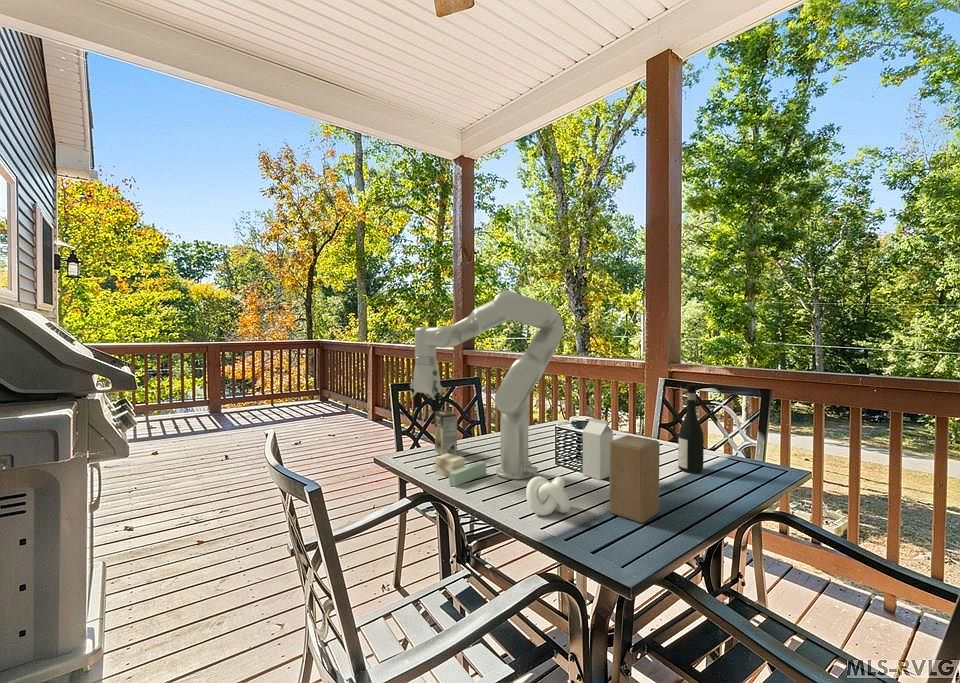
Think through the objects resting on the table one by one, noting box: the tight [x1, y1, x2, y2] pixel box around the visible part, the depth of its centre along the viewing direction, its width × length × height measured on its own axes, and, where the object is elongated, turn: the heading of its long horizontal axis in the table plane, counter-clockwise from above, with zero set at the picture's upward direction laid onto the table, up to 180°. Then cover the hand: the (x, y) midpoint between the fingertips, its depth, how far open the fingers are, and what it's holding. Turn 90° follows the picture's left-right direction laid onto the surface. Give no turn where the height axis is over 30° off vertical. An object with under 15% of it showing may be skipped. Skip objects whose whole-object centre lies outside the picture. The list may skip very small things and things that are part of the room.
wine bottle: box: [677, 383, 705, 474], centre depth 159 cm, size 8×8×30 cm
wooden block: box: [608, 434, 660, 524], centre depth 123 cm, size 10×10×20 cm
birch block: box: [435, 453, 466, 479], centre depth 157 cm, size 8×6×6 cm
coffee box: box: [434, 410, 458, 456], centre depth 182 cm, size 9×6×16 cm
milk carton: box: [582, 417, 614, 481], centre depth 155 cm, size 7×7×19 cm
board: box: [448, 460, 487, 488], centre depth 152 cm, size 2×16×4 cm, turn 141°
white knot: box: [525, 475, 571, 517], centre depth 126 cm, size 11×12×9 cm
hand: (426, 408), depth 165 cm, fingers open, 9 cm apart
